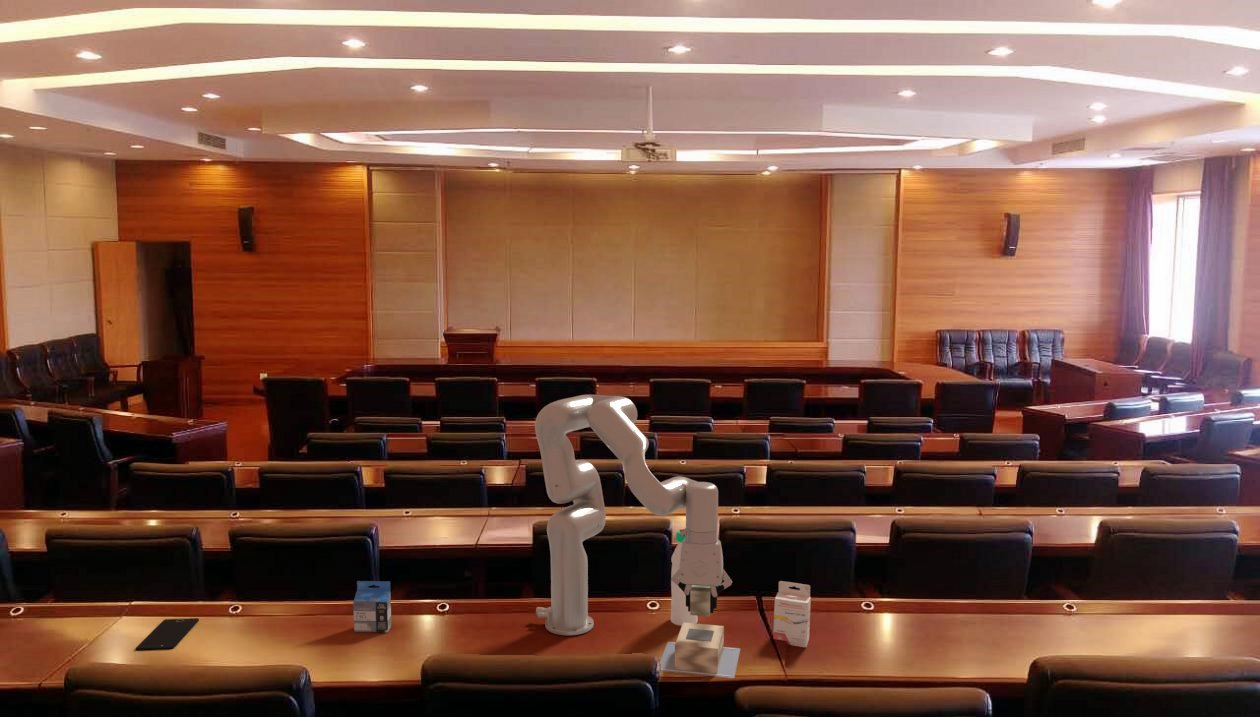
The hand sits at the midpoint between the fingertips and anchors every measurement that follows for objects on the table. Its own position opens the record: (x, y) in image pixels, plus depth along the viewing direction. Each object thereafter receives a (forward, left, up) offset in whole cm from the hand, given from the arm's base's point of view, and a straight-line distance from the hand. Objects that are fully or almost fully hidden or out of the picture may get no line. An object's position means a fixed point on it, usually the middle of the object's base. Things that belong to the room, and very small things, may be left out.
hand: (701, 609), depth 219 cm
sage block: (0, 0, -1) cm, 1 cm away
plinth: (0, 0, -12) cm, 12 cm away
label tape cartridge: (-85, +1, -14) cm, 86 cm away
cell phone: (-134, -13, -14) cm, 136 cm away
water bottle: (-7, +22, -14) cm, 27 cm away
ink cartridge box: (+21, +17, -14) cm, 30 cm away
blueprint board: (0, 0, -13) cm, 13 cm away
